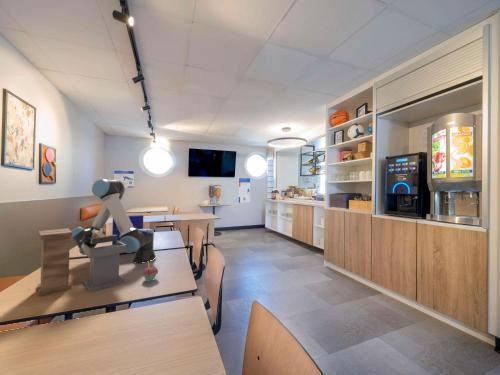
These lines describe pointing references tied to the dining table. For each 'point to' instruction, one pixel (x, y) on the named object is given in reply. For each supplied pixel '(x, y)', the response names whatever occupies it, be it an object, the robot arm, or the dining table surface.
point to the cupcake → (150, 273)
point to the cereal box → (136, 222)
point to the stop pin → (102, 238)
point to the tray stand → (104, 266)
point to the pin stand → (54, 261)
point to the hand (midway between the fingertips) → (98, 230)
